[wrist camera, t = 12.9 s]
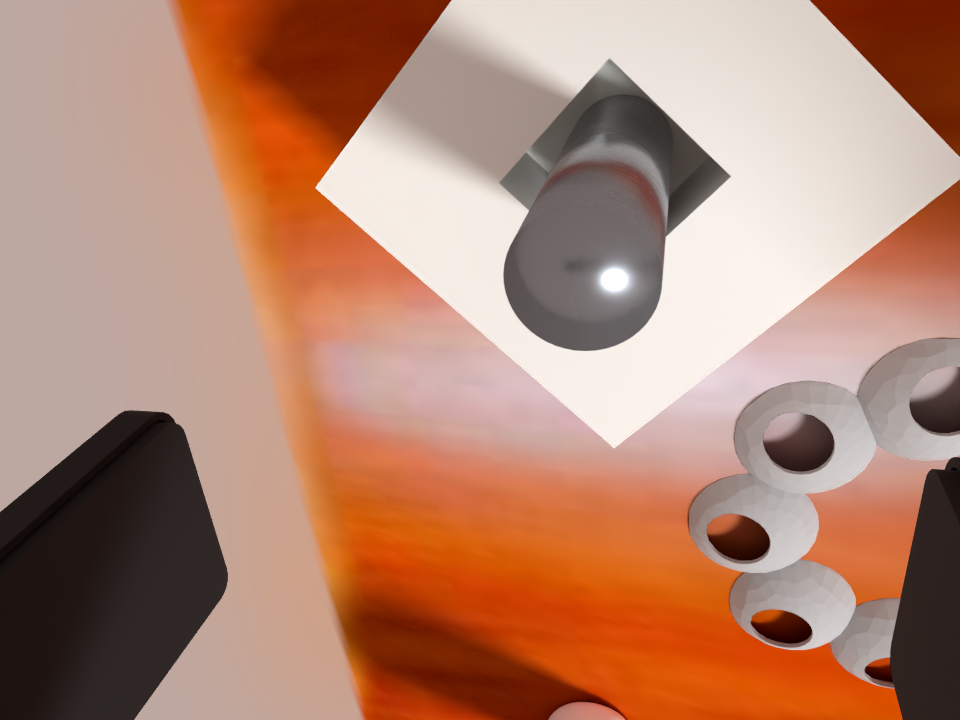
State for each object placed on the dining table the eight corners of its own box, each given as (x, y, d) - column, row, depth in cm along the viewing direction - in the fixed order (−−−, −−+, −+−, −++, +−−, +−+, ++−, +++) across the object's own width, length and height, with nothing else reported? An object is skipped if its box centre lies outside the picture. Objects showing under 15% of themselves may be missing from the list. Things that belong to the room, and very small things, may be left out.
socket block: (625, -178, 26) (606, -213, 20) (910, 119, 28) (971, 169, 22) (384, 141, 32) (315, 188, 26) (627, 359, 35) (614, 448, 29)
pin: (618, 72, 27) (574, 170, 17) (695, 142, 27) (697, 279, 17) (550, 150, 29) (472, 283, 18) (623, 215, 29) (586, 378, 19)
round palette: (1279, 550, 32) (1312, 585, 31) (870, 729, 42) (878, 762, 40) (967, 236, 29) (984, 255, 28) (605, 506, 39) (601, 532, 37)
